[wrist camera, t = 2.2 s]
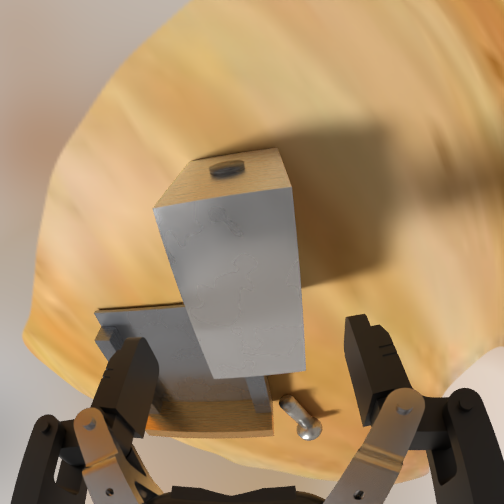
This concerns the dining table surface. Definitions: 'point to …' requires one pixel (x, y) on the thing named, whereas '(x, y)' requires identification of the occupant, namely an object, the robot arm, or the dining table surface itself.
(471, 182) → the dining table surface
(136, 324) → the grey channel bracket
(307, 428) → the hitch pin
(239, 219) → the grey metal block
